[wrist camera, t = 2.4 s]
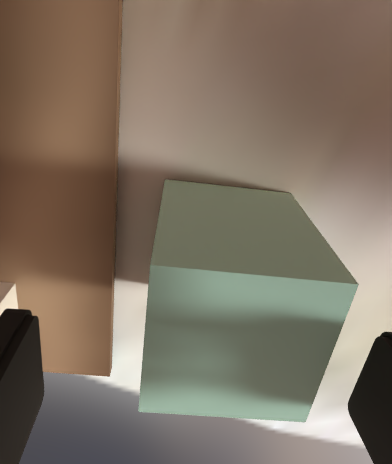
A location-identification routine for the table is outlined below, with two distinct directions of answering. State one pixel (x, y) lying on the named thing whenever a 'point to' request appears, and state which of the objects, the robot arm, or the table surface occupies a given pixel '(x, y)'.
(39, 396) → the robot arm
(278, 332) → the mint green cube
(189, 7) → the table surface
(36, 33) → the walnut board
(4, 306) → the cream post
